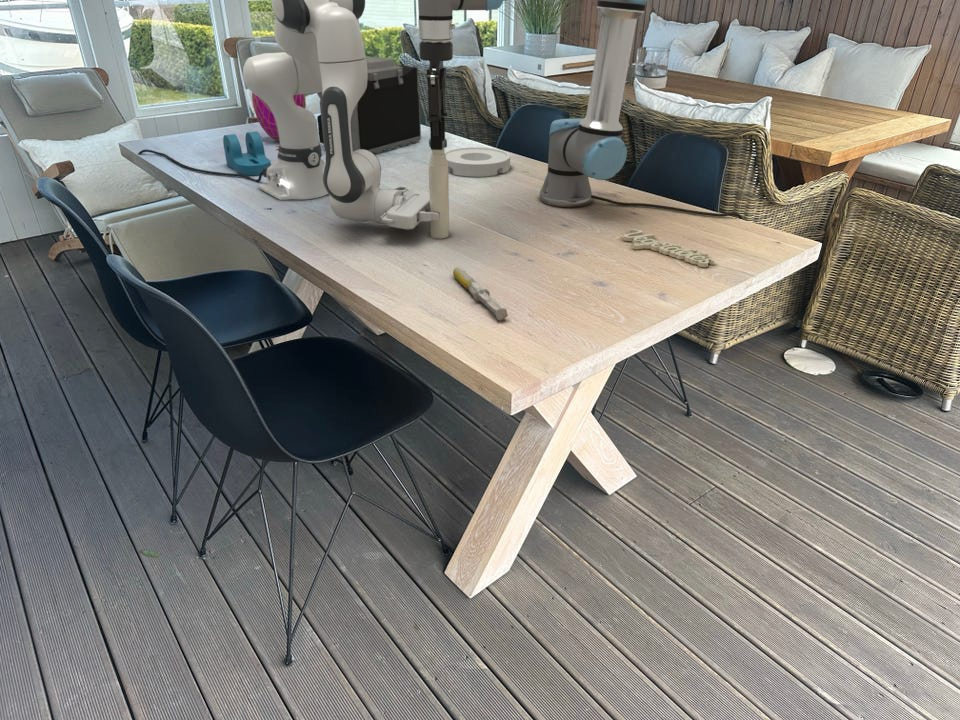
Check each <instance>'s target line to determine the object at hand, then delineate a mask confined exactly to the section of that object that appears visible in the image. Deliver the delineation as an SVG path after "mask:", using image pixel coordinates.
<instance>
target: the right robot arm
mask: <svg viewBox="0 0 960 720" xmlns="http://www.w3.org/2000/svg"><path fill="white" fill-rule="evenodd" d="M504 1H505V2H506V1H507V0H417V10H418V19H417V20H418V39H419V40H421V41H419V43H418V47H419V48H418V49H419V50H418V51H419V59H420V60H421V61H425V62H427V61H428V62H429V67H428V69H426V81H427V101H428V104H427V105H428V106H427V107H428V118H426V122H429V129H430V130H429V132H430V133H429V134H430V136H429V137H430V138H431V147H430V150H431V151H432V150H442V138H446V125H445V124H446V117H448V116H449V114H448V113H449V112H448V111H447V108H446V76H447V68H446V67H444V62H449V61H451V60H453V58H454V44H453V42H452V41H451V40H452V39H453V30H455V29H456V25H455V24H452V23H453V11H486V12H489V11H493V10H494V11H495V10H498V9H500V8H501V6H502V5H503V3H504ZM647 2H649V0H597V5H596V9H597V10H598V12H599V13H600V15H601V19H600V25H599V31H598V38H597V45H596V51H595V52H596V53H595V57H594V64H593V69H592V75H591V82H590V87H589V88H590V89H589V96H588V102H587V108H586V113H585V117H584V118H580V117H579V118H562V119H554V120H553V121H552V122H551V124H550V127H549V128H550V129H549V134H548V136H549V141H548V142H549V143H548V156H547V157H548V159H547V173H546V176H545V178H544V181H543V184H542V187H541V189H540V191H539V200H540V202H542V203H543V204H546V205H549V206H553V207H558V208H559V207H560V208H580V207H584V206H588V205H589V204H591V203H592V199H594V200H598V201H602V202H606V203H610V204H612V205H616V206H617V205H618V206H624V207H625V206H626V207H648V208H655V209H662V210H670V211H676V212H681V213H688V214H694V215H701V216H707V217H708V216H709V217H719V218H720V217H722V218H723V217H731V216H735V217H737V218H738V219H739V220H743V219H744V218H743V216H742V215H741V214H740V213H738V212H735V211H734V212H733V211H732V212H725V213H718V212H717V213H716V212H708V211H700V210H693V209H687V208H680V207H674V206H668V205H661V204H655V203H654V204H653V203H645V202H644V203H642V202H622V201H616V200H613V199H609V198H606V197H601V196H597V195H593V193H592V188H591V184H590V179H594V180H598V181H605V180H609V179H611V178H613V177H615V175H616V174H618V173H619V172H621V170H622V168H623V167H624V165H625V163H626V160H627V156H628V148H627V146H626V144H625V142H624V140H622V136H623V130H624V126H622V124H621V122H620V121H619V120H620V115H621V110H622V109H621V108H622V104H623V98H624V93H625V86H626V82H627V77H628V70H629V65H630V59H631V54H632V49H633V42H634V37H635V31H636V27H637V22H638V21H637V20H638V19H639V18H640V17H641V16H642V15H644V13H645V12H646V11H645V10H646V5H647ZM446 111H447V112H446Z"/></svg>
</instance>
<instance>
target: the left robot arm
mask: <svg viewBox="0 0 960 720" xmlns="http://www.w3.org/2000/svg"><path fill="white" fill-rule="evenodd" d="M270 2H271V8H272V10H273V14H274V16H275V21H274V29H273V32H274V33H273V35H274V39H275V42H276V44H277V46H278V47H279V48H280V49H281V50H282V51H281V52H263V53H260V54H257V55H253V56H250V57H248V58H247V59H245V63H244V64H243V68H242V77H243V81H244V83H245V85H246V87H247V89H248V90H249V92H251V94H252V93H253V94H255V95H256V96H258V97H259V98H261V99H262V100H263V101H264V102H265V103H266V104H267V105H268V107H269V108H270V109H271V111H272V113H273V115H274V117H275V120H276V124H277V129H278V134H279V140H278V141H279V145H276V146H275V148H276V149H275V152H276V151H277V158H276V159H275V160H274V161H273V162H272V163H271V166H269V167H265V168H263V171H262V172H261V173H260V175H258V178H257V179H255V178H252V177H251V176H250V175H243V174H240V173H229V172H220V171H211V170H205V169H200V168H197V167H196V168H195V167H192V166H189V165H186V164H183V163H181V162H179V161H177V160H176V159H174V158H172V157H171V156H169V155H168V154H166V153H164V152H159V151H156V150H152V149H142V150H140V151H139V152H138V155H142V154H143V153H151V154H155V155H159V156H162V157H165V158H166V159H168V160H170V161H171V162H173V163H175V164H177V165H179V166H180V167H182V168H185V169H188V170H191V171H194V172H199V173H204V174H210V175H217V176H226V177H238V178H245V179H248V180H249V181H252V182H254V183H258V182H261V180H262V178H263V177H264V178H266V182H264V183H262V184H260V185H259V189H260V190H261V191H263V192H264V193H267V194H269V196H272V197H274V198H276V199H277V200H280V201H287V200H312V199H317V198H321V197H324V196H327V195H329V198H328V199H329V200H328V201H329V206H330V209H331V211H332V213H333V214H334V215H335V216H336V217H338V218H341V219H342V220H346V221H352V222H357V223H368V222H372V223H375V224H379V225H387V227H391V228H394V229H402V230H414V229H415V228H416V226H418V225H419V224H420V223H421V222H430V220H438V219H439V218H440V213H439V212H435V211H433V212H430V196H429V190H422V189H409V188H408V187H407V186H399V187H396V188H388V189H385V188H380V185H381V176H382V166H381V163H380V160H379V158H378V157H377V156H376V154H374V153H372V152H370V151H368V150H365V149H358V150H355V151H352V139H351V117H352V113H353V110H354V108H355V106H356V104H357V103H358V101H359V100H360V98H361V97H362V95H363V94H364V92H365V90H366V88H367V79H368V70H367V62H366V56H367V55H366V49H365V44H364V40H363V35H362V31H361V28H360V25H359V22H358V20H359V19H361V17H362V16H363V14H364V12H365V8H366V0H271V1H270ZM319 92H322V117H323V129H324V140H325V147H324V150H325V161H324V159H322V156H323V153H322V152H323V149H322V144H321V143H320V139H319V130H318V120H317V117H316V116H315V114H314V113H313V112H312V111H310V110H309V109H307V108H302V107H300V106H297V105H296V104H295V102H294V98H293V95H298V94H305V95H308V94H317V93H319Z"/></svg>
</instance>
